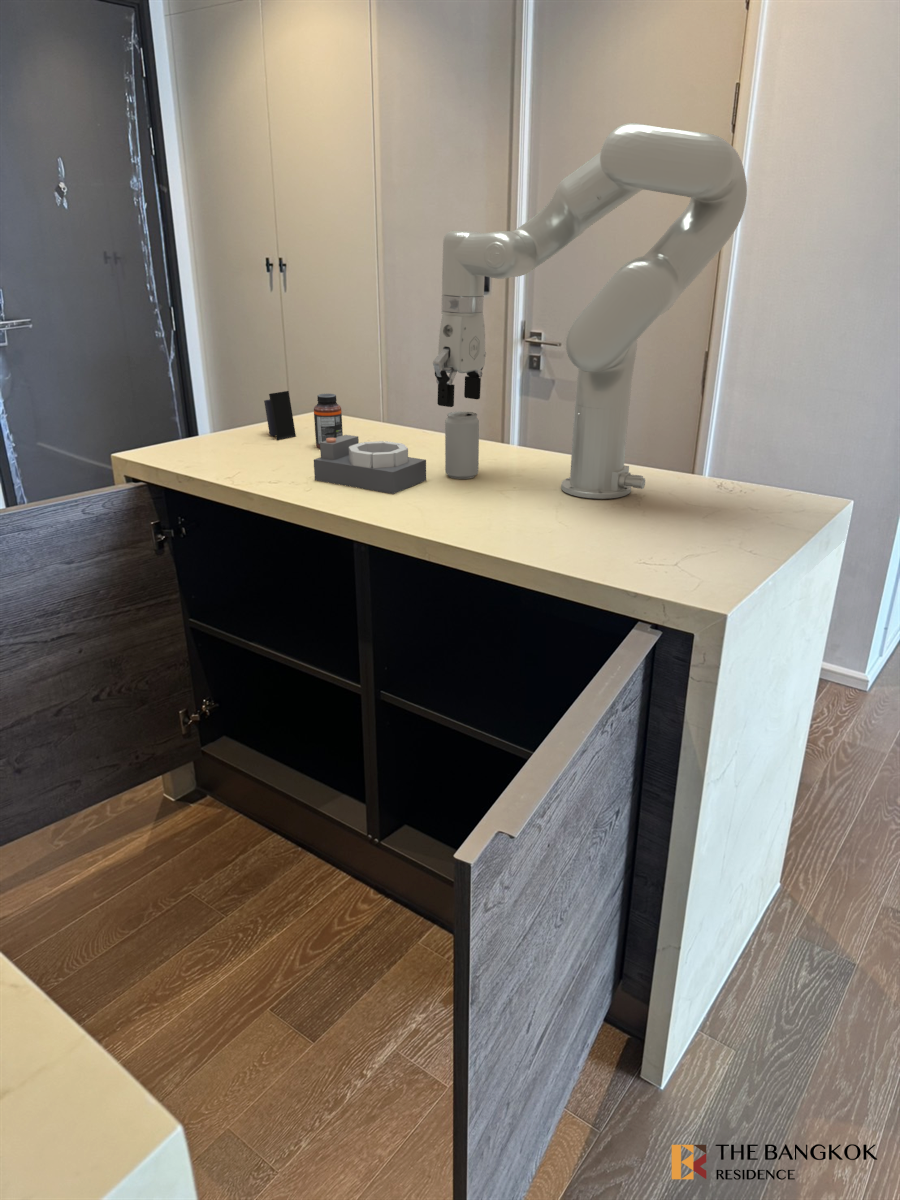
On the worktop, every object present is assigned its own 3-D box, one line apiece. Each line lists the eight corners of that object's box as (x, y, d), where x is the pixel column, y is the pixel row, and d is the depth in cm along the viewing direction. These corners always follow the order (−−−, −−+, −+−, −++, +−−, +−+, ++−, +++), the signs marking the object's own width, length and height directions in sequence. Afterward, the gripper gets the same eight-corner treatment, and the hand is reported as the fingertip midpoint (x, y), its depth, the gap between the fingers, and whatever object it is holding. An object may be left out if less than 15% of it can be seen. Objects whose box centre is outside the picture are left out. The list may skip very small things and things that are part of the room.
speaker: (301, 436, 197) (294, 390, 194) (277, 440, 195) (270, 393, 191) (290, 434, 204) (283, 389, 200) (267, 437, 201) (259, 392, 198)
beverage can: (478, 480, 164) (479, 417, 159) (444, 480, 164) (444, 416, 159) (478, 472, 169) (479, 410, 165) (445, 471, 170) (445, 410, 165)
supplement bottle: (320, 443, 192) (317, 392, 187) (346, 444, 191) (344, 392, 187) (312, 449, 186) (309, 396, 182) (339, 450, 186) (336, 397, 181)
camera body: (426, 480, 163) (425, 440, 160) (393, 494, 155) (392, 452, 152) (350, 468, 172) (348, 429, 169) (314, 480, 163) (312, 440, 160)
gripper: (455, 310, 146) (452, 411, 153) (503, 304, 160) (498, 398, 166) (418, 307, 149) (417, 406, 156) (468, 302, 163) (464, 393, 170)
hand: (459, 402), depth 161 cm, fingers open, 9 cm apart
